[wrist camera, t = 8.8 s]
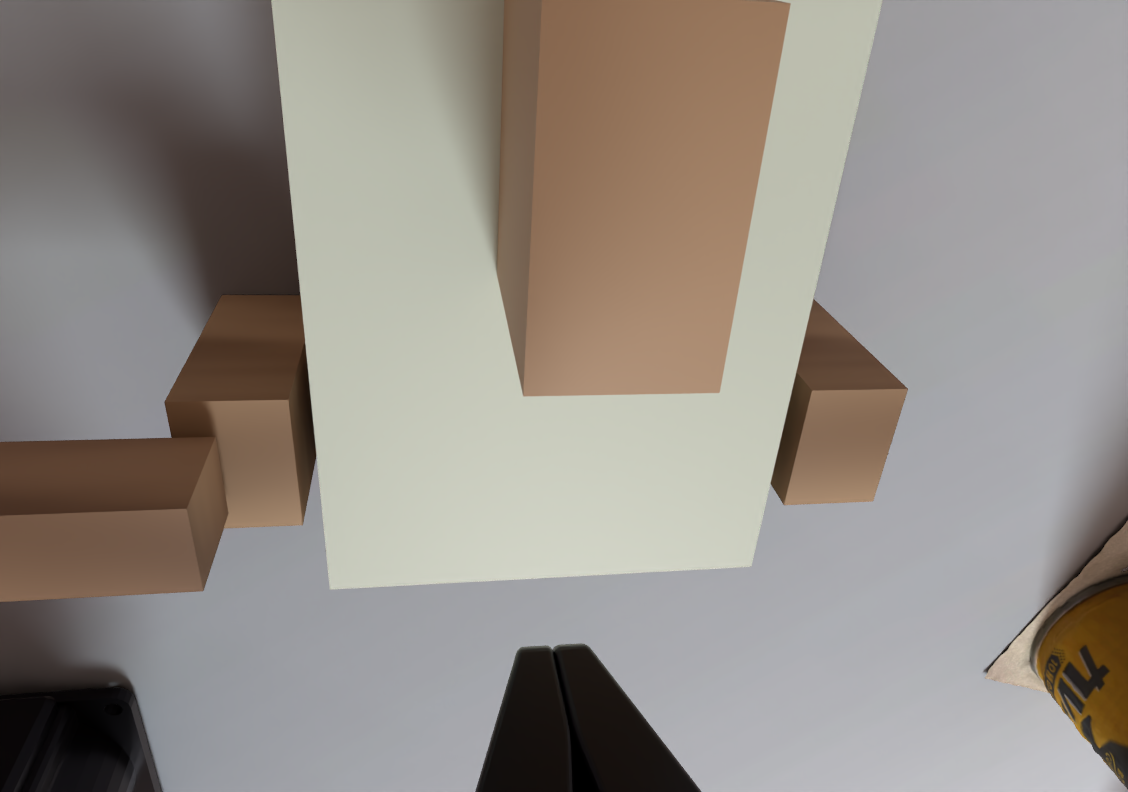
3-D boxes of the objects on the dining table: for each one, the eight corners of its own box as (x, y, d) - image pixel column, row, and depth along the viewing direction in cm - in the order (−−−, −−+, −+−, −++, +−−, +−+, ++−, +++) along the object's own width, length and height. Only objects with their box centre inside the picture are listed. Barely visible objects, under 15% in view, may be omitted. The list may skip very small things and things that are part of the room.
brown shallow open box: (775, 451, 24) (852, 567, 20) (247, 468, 22) (204, 603, 18) (927, -209, 17) (1108, -256, 12) (133, -298, 14) (3, -398, 10)
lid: (737, 539, 20) (831, 723, 16) (334, 559, 19) (304, 770, 14) (908, -253, 13) (1195, -358, 8) (249, -334, 11) (124, -524, 6)
